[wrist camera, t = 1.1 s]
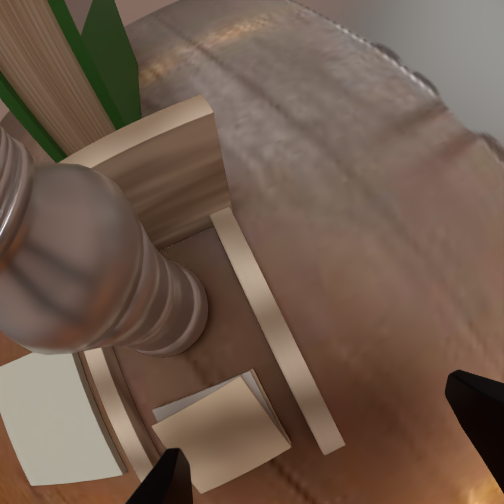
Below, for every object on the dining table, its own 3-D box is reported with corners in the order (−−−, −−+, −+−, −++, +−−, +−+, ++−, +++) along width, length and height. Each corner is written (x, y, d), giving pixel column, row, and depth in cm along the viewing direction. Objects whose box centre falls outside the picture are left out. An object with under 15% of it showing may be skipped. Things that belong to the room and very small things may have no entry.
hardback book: (146, 162, 27) (34, -73, 4) (79, 187, 27) (-66, 4, 4) (137, 63, 33) (85, -89, 10) (86, 83, 32) (19, -55, 9)
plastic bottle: (230, 296, 23) (112, 67, 4) (185, 374, 21) (-72, 407, 2) (160, 257, 24) (-9, 58, 5) (118, 329, 22) (-122, 244, 3)
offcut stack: (293, 446, 20) (297, 458, 17) (198, 481, 19) (190, 496, 16) (253, 368, 22) (252, 370, 19) (158, 406, 21) (144, 412, 18)
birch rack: (341, 436, 19) (408, 501, 8) (163, 500, 18) (100, 578, 6) (226, 201, 25) (202, 93, 14) (72, 273, 24) (-23, 219, 13)
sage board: (127, 471, 19) (122, 474, 18) (36, 483, 17) (31, 485, 16) (73, 338, 22) (67, 337, 21) (-5, 372, 21) (-12, 371, 20)
